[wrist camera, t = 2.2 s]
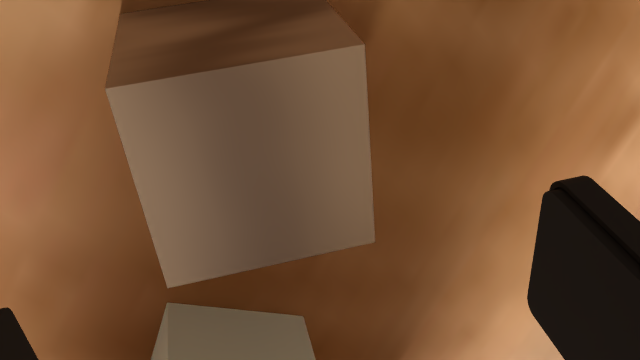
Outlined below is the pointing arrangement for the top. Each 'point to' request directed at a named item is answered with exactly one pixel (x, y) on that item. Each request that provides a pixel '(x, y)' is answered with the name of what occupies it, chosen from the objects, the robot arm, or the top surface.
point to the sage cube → (230, 335)
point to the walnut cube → (244, 132)
